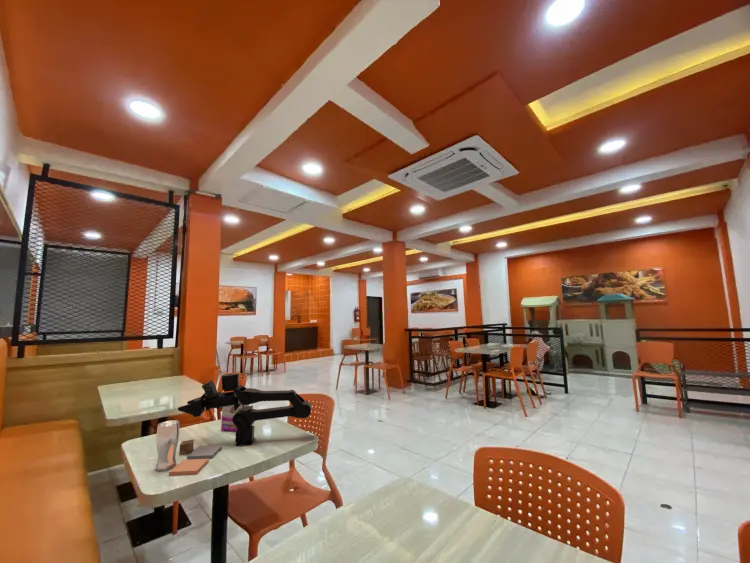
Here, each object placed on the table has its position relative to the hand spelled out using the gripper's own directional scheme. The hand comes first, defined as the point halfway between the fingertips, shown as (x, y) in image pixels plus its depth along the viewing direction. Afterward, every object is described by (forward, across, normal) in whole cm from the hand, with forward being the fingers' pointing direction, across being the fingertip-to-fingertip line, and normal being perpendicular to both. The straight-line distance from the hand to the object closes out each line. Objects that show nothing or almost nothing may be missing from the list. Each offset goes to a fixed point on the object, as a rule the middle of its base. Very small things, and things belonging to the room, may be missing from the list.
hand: (182, 405), depth 131 cm
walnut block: (-3, +6, +17) cm, 18 cm away
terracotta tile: (-9, +21, +17) cm, 29 cm away
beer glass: (-1, +18, +17) cm, 24 cm away
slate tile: (-10, +9, +18) cm, 22 cm away
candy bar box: (-15, -17, +18) cm, 29 cm away
